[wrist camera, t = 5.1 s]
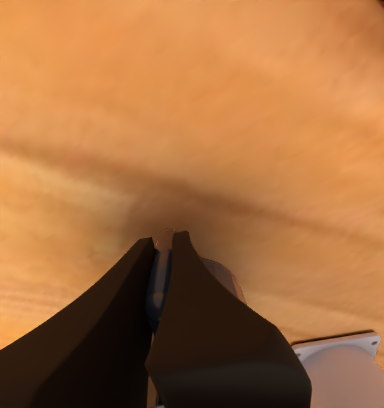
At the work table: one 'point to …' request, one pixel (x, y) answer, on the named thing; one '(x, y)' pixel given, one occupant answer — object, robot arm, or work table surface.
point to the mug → (160, 288)
